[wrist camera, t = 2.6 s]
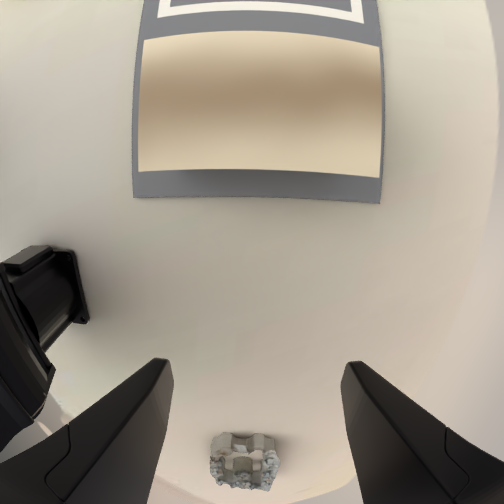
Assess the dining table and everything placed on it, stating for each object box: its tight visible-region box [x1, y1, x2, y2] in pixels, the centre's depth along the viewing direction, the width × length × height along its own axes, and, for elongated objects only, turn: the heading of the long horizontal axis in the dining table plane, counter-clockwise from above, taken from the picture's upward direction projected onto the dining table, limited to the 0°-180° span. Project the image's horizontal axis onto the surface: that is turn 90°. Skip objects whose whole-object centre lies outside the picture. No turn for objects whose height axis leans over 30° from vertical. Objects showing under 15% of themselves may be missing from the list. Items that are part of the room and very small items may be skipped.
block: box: [138, 31, 382, 178], centre depth 13 cm, size 6×10×6 cm, turn 89°
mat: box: [132, 0, 385, 204], centre depth 14 cm, size 22×16×1 cm
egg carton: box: [210, 433, 280, 491], centre depth 26 cm, size 11×8×4 cm
